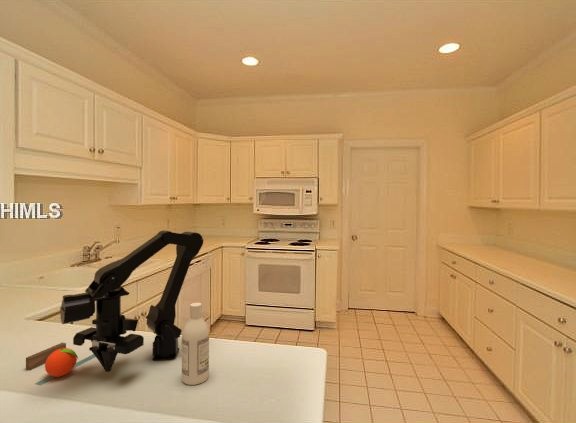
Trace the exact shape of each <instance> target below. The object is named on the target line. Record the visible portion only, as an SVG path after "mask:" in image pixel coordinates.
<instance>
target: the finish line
mask: <svg viewBox="0 0 576 423" xmlns="http://www.w3.org/2000/svg"><path fill="white" fill-rule="evenodd" d="M94 358H96V356H95V355H94V354H93V353H92V354H91V355H89V356H87V357H85V358H83V359H81V360H79V361H76V364H75V366H74V368H73V369H75V368H77V367H78V366H81V365H83V364H85V363H87V362H88V361H91V360H93V359H94ZM56 378H57V377H55V376H51V375H48V376H47V377H45V378H43V379H42V380H39V381H37V382H35V383H34V385H37V386H42V385H44V384H46V383H48V382H50V381H51V380H54V379H56Z"/></svg>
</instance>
